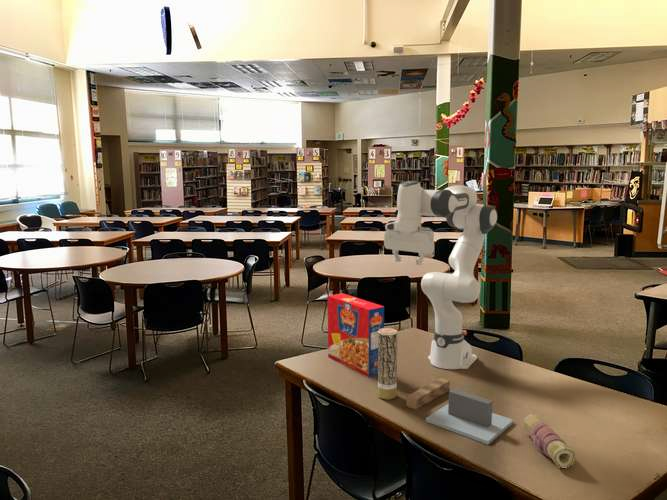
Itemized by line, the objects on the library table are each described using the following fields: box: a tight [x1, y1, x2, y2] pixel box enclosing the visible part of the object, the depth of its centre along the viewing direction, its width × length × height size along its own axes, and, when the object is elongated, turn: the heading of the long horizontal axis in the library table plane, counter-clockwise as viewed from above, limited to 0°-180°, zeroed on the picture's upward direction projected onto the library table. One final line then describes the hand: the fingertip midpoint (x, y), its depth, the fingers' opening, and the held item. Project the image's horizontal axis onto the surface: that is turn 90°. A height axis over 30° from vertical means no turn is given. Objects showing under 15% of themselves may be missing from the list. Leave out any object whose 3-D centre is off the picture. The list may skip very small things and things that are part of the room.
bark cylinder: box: [377, 327, 398, 401], centre depth 189 cm, size 7×7×25 cm
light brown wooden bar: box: [405, 377, 451, 410], centre depth 190 cm, size 22×4×4 cm, turn 136°
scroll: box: [521, 413, 577, 469], centre depth 154 cm, size 8×8×20 cm
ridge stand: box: [425, 388, 514, 446], centre depth 171 cm, size 22×18×9 cm
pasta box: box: [327, 292, 385, 378], centre depth 220 cm, size 28×8×28 cm, turn 36°
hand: (408, 263), depth 193 cm, fingers open, 8 cm apart
